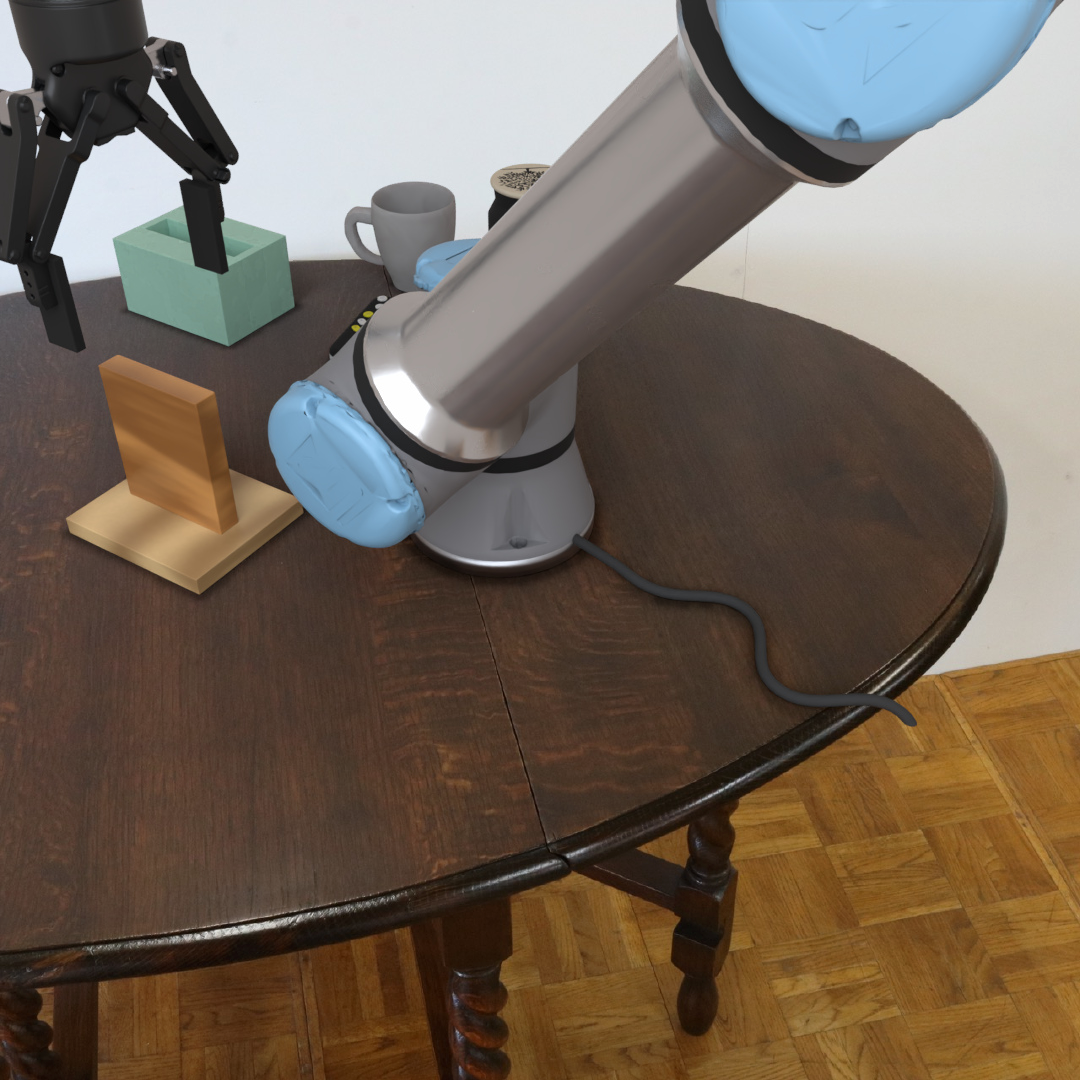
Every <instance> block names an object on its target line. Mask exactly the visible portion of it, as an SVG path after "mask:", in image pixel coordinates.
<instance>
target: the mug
mask: <svg viewBox="0 0 1080 1080" xmlns="http://www.w3.org/2000/svg"><path fill="white" fill-rule="evenodd" d="M456 202H457V201H456V196H455V194H454V192H452V190H451V189H449V188H448V187H446V186H443V185H441V184H438V183H435V182H434V183H433V182H427V181H403V182H401V181H400V182H396V183H391V184H388V185H385V186H383V187H381V188H378V189H377V190H376V191H375V192H374V193H373V195H372V196H371V199H370V206H358V205H357V206H354V207H352V208H350V210H349V211H348V212H347V213H346V216H345V218H344V222H343V223H344V225H343V226H344V236H345V237H346V240H347V242H348V243H349V245H350V247H351V248H352V251H353V252H354V254H355V255H356V256H357V257H358V258H359V259H361V260H362V261H365V262H368V263H371V264H373V265H376V266H384V267H385V269H386V271H387V272H388V274H389V276H390V278H391V281H392V284H393V286H394V287H395V288H396V289H397V290H399V291H401V292H404V293H408V292H417V291H416V285H415V284H414V277H413V276H414V275H415V272H416V263H417V260H418V258H419V257H420V256H421V255H422V253H423V252H425V251H426V250H428V249H429V248H431V247H433V246H436V245H438V244H441V243H445V242H449V241H455V237H456V227H457V225H456V224H457V203H456ZM358 223H361V224H365V225H370V226H372V228H373V232H374V237H375V242H376V246H377V250H378V252H379V254H377V253H374V252H373V251H372V250H370V249H369V248H367V246H365V244H364V243H363V240H362V239H361V236H360V233H359V229H358Z"/></svg>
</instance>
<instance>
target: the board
mask: <svg viewBox="0 0 1080 1080" xmlns="http://www.w3.org/2000/svg"><path fill="white" fill-rule="evenodd" d="M229 472H230V477H231V483H232V488H233V494H234V499H235V505H236V510H237V516H238V523H236V524H235V525H234V526H232V527H231V528H230V529H228V530H227V531H226V532H224V533H223V534H219V533H216V532H214V531H212V530H210V529H208V528H205V527H203V526H201V525H199V524H197V523H194V522H192V521H190V520H188V519H186V518H183V517H181V516H179V515H177V514H174V513H172V512H170V511H168V510H166V509H163V508H161V507H159V506H157V505H155V504H152V503H150V502H148V501H146V500H144V499H141V498H139V497H137V496H135V495H133V494H131V493H130V490H129V486H128V482H127V478H125V479H124V480H122V481H120V482H119V483H117V484H116V485H114V486H113V487H111V488H109V490H107V491H105V492H104V493H103V494H101V495H99V496H97V497H96V498H94V499H93V500H91V501H90V502H88V503H87V504H85V505H84V506H82V507H81V508H79V509H78V510H76V511H75V512H73V513H72V514H70V515H69V516H67V517H66V518H65V521H66V524H67V527H68V530H69V533H70V534H71V535H74V536H75V537H78V538H80V539H82V540H84V541H87V542H88V543H90V544H93V545H94V546H97V547H99V548H100V549H103V550H105V551H107V552H109V553H112V554H114V555H116V556H118V557H119V558H121V559H124V560H126V561H128V562H130V563H132V564H134V565H136V566H139V567H140V568H142V569H144V570H147V571H149V572H151V573H152V574H155V575H157V576H159V577H161V578H163V579H165V580H167V581H169V582H172V583H174V584H176V585H178V586H180V587H182V588H184V589H186V590H189V591H190V592H193V593H194V594H196V595H199V596H200V595H201V594H202V593H204V592H205V591H206V590H207V589H209V588H210V587H212V586H213V585H214V584H215V583H216V582H218V581H219V580H220V579H222V578H223V577H224V576H225V575H226V574H228V573H229V572H230V571H232V570H233V569H234V568H236V567H237V566H238V565H239V564H240V563H242V562H243V561H244V560H246V559H247V558H248V557H249V556H251V555H252V554H253V553H255V552H256V551H257V550H258V549H260V548H261V547H262V546H264V545H265V544H266V543H267V542H269V541H270V540H271V539H273V538H274V537H275V536H277V534H279V533H280V532H282V531H283V530H284V529H286V528H287V527H288V526H289V525H290V524H291V523H293V522H295V520H297V519H298V518H299V517H301V516H302V515H303V514H304V507H303V506H302V505H301V503H300V502H299V501H298V500H297V499H296V497H295V496H294V495H293V494H291V493H288V492H287V491H284V490H282V489H279V488H276V487H274V486H272V485H269V484H267V483H265V482H262V481H259V480H257V479H255V478H253V477H250V476H248V475H245V474H243V473H240V472H238V471H235V470H233V469H232V468H229Z"/></svg>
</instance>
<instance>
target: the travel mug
mask: <svg viewBox="0 0 1080 1080" xmlns="http://www.w3.org/2000/svg"><path fill="white" fill-rule="evenodd" d="M551 166H552V165H549V164H543V163H520V164H512V165H508V166H505V167H502V168H500V169H497V170H496V171H495V172H494V173H493V174H492V175H491V176H490V180H489V183H490V186H491V188H492V189H493V193H494V199H493V201H492V203H491V205H490V206H489V209H488V211H487V228H488V229H487V232H488V231H489V230H490V229H491V228H492V227H493V226H494V225H495V224H496V223H497V222H498V221H499V220H500V219H501V218H502V217H503V216H504V215H505V214H506V212H507V211H508V210H509V209H510V208H511V207H512V206H513V205H514V204H515V203H516V202H517V201H518V200H519V199H520V198H521V197H522V196H523V195H524V194H525V193H526V192H527V191H528V190H529V189H530V187H531V186H532V185H533V184H534V183H535V182H536V181H537V180H538V179H539V178H540V177H541V176H542V175H543V174H544V173H545V172H546V171H547V170H548V169H549V168H550V167H551Z"/></svg>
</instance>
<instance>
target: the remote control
mask: <svg viewBox="0 0 1080 1080" xmlns="http://www.w3.org/2000/svg"><path fill="white" fill-rule="evenodd" d="M393 297H394V296H385V295H379V296H377V297H374V298H373V299H371V301H370V302H369V303H368V304H367V305H366V306H365V307H364V309H363V310H362V311H361V312H360V313H359V314H358V315H357V316H356V317H355V318H354V319H353V321H352V322H351V323H350V324H349V325H348V327H346V329H344V331H343V332H342V333H341V334H340V335H338V337H337V338H336V340H335V341H334V342H333V343H332V344H331V345H330V347H329V349H328V350H329V351H328V353H329V354H328V355H329V360H330V359H331V358H332V357H333V356H334V355H336V354H337V353H338V352H339V351H340V349H341V348H342V347H343V346H344V345H345V344H346V343H347V342H348V341H349V340H350V339H351V338H352V336H353V335H354V334H355V333H356V332H357V331H358V330H359V329H360V328H361V327H362V326H363V325H364V324H365V322H366V321H367V320H368V319H369V318H370V317H371V316H372V315H373V314H374V313H375V312H376V311H377V310H378V308H380V307H381V306H382V305H383V304H384V303H386V302H387V301H388V300H389V299H391V298H393Z"/></svg>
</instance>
